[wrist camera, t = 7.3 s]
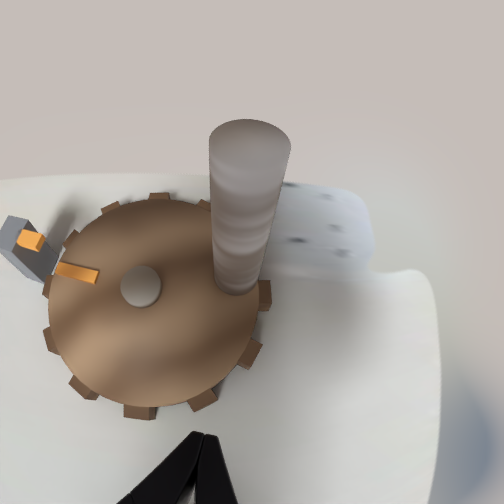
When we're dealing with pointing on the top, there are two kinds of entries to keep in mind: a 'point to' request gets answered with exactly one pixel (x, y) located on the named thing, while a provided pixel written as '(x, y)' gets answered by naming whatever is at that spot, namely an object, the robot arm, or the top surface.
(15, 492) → the top surface
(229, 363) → the sprocket
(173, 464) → the robot arm
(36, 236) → the grey toy mallet
